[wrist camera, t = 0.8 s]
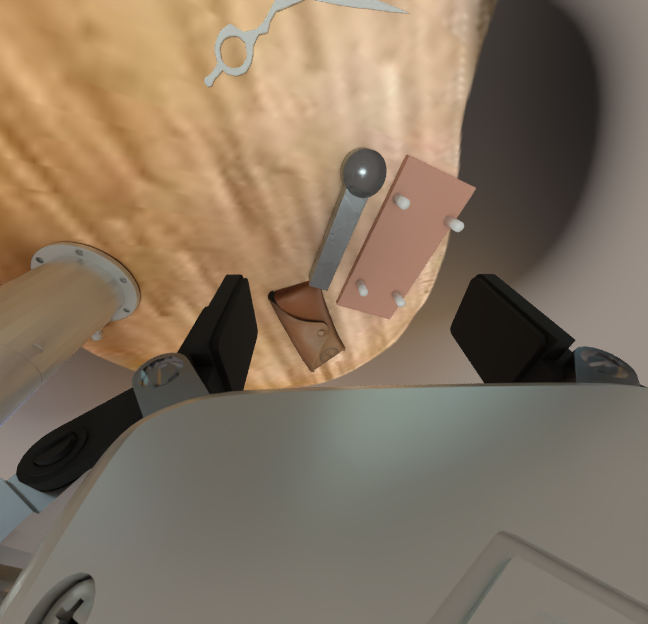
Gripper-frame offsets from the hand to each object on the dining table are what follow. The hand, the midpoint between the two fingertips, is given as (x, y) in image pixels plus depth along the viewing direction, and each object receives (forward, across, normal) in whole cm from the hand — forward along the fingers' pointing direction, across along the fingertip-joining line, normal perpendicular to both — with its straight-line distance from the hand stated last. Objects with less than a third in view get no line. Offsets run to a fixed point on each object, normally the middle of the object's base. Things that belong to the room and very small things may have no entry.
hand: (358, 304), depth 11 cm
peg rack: (+25, -10, +8) cm, 29 cm away
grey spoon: (+25, -2, +4) cm, 26 cm away
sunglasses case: (+25, +2, +22) cm, 34 cm away
